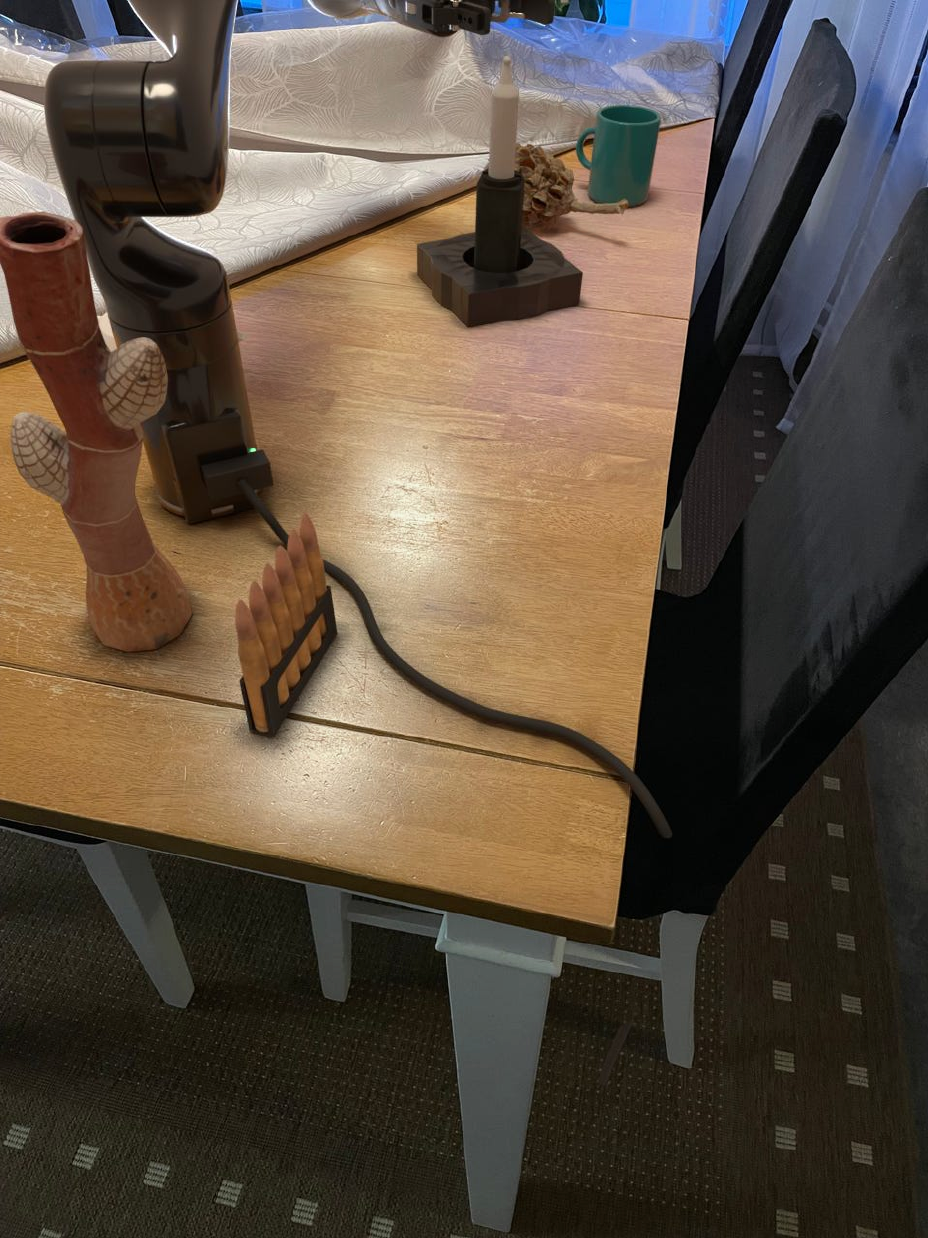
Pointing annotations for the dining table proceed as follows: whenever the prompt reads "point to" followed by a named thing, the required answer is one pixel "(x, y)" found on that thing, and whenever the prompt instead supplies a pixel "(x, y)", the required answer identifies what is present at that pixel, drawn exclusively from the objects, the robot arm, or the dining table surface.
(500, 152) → the candle
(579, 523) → the dining table surface
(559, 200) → the pine cone
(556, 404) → the dining table surface
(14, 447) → the vase
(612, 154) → the cup
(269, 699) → the ammunition clip
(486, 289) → the candle base
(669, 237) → the dining table surface
